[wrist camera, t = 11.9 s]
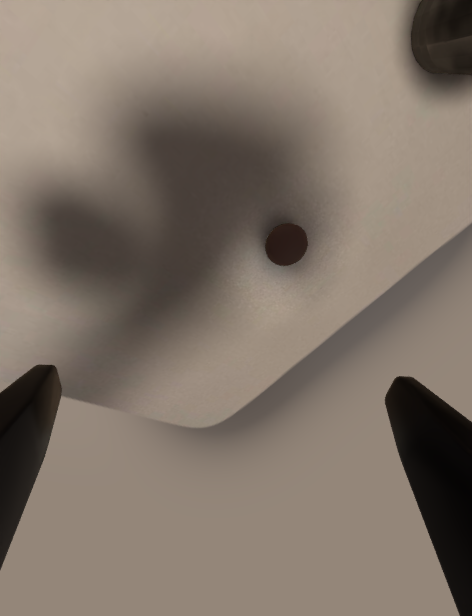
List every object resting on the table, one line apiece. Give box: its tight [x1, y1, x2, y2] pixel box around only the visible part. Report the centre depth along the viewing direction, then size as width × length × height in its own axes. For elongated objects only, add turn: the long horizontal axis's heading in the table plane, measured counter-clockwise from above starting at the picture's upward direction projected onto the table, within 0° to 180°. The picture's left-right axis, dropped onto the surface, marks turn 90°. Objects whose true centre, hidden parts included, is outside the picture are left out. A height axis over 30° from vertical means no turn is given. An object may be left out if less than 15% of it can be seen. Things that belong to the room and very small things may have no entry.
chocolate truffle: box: [265, 223, 308, 266], centre depth 24 cm, size 3×3×2 cm
